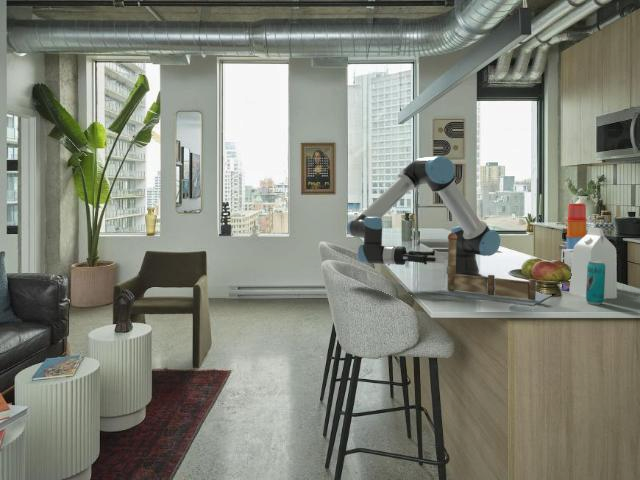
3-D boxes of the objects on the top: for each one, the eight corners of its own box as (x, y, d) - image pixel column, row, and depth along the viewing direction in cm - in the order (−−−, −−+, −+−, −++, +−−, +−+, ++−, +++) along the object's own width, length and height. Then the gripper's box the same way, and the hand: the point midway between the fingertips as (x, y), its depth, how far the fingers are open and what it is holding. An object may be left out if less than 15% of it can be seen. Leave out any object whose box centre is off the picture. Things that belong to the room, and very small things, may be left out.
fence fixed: (488, 293, 210) (489, 274, 209) (536, 298, 199) (537, 279, 199) (486, 294, 208) (487, 275, 207) (534, 299, 197) (534, 280, 197)
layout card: (462, 283, 236) (462, 282, 236) (555, 294, 213) (555, 292, 213) (432, 293, 214) (432, 291, 214) (532, 305, 191) (532, 304, 191)
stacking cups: (591, 285, 233) (595, 203, 230) (565, 284, 235) (568, 203, 232) (586, 281, 243) (590, 203, 240) (561, 280, 245) (564, 203, 242)
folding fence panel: (487, 292, 211) (489, 234, 209) (484, 294, 208) (486, 235, 206) (448, 288, 221) (450, 232, 219) (445, 289, 218) (446, 233, 216)
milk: (616, 298, 205) (620, 228, 203) (588, 299, 204) (592, 229, 201) (595, 292, 217) (598, 226, 215) (569, 293, 215) (572, 227, 213)
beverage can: (582, 302, 198) (584, 260, 197) (597, 301, 199) (599, 260, 197) (591, 305, 192) (593, 262, 191) (607, 305, 193) (609, 262, 192)
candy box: (596, 289, 223) (598, 249, 222) (599, 292, 218) (601, 251, 216) (559, 287, 228) (561, 248, 226) (561, 290, 222) (562, 249, 221)
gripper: (403, 261, 237) (452, 263, 229) (386, 268, 214) (441, 271, 206) (403, 243, 237) (453, 245, 228) (386, 249, 214) (441, 251, 205)
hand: (447, 257), depth 217 cm, fingers open, 13 cm apart
